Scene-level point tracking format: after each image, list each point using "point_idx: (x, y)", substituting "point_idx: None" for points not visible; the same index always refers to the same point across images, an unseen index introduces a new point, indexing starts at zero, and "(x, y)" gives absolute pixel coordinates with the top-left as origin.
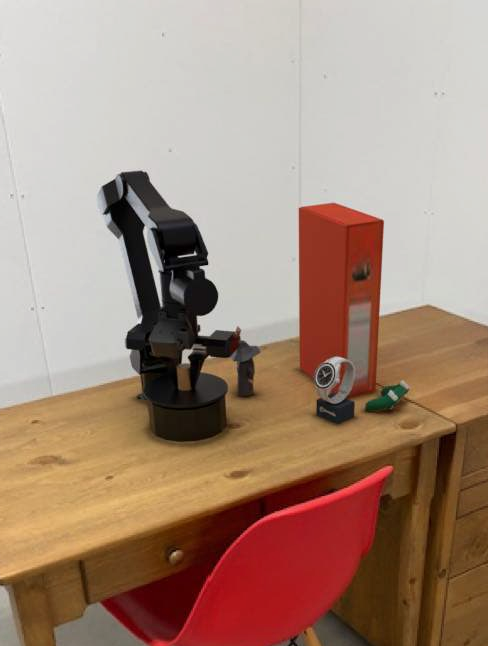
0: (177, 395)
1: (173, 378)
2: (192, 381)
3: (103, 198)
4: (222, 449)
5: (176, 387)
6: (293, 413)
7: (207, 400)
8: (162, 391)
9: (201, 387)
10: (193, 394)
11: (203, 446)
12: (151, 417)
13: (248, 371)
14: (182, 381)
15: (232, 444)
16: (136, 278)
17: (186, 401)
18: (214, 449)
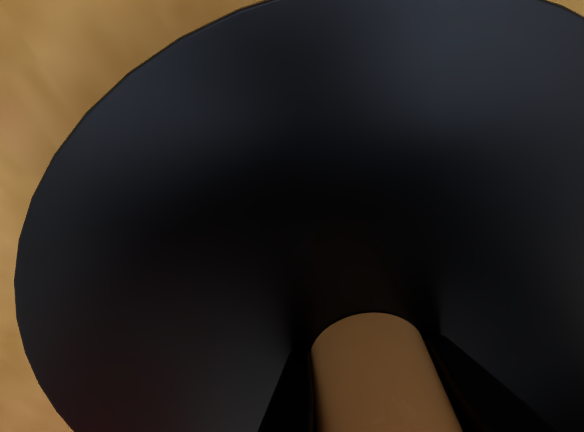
0: (372, 221)
1: (488, 393)
2: (291, 405)
3: None
4: (36, 42)
5: (436, 335)
6: (9, 419)
7: (50, 219)
8: (534, 246)
9: (254, 391)
10: (246, 282)
11: (151, 39)
12: None
13: None
14: (381, 377)
15: (30, 116)
16: None
17: (226, 132)
18: (74, 25)
